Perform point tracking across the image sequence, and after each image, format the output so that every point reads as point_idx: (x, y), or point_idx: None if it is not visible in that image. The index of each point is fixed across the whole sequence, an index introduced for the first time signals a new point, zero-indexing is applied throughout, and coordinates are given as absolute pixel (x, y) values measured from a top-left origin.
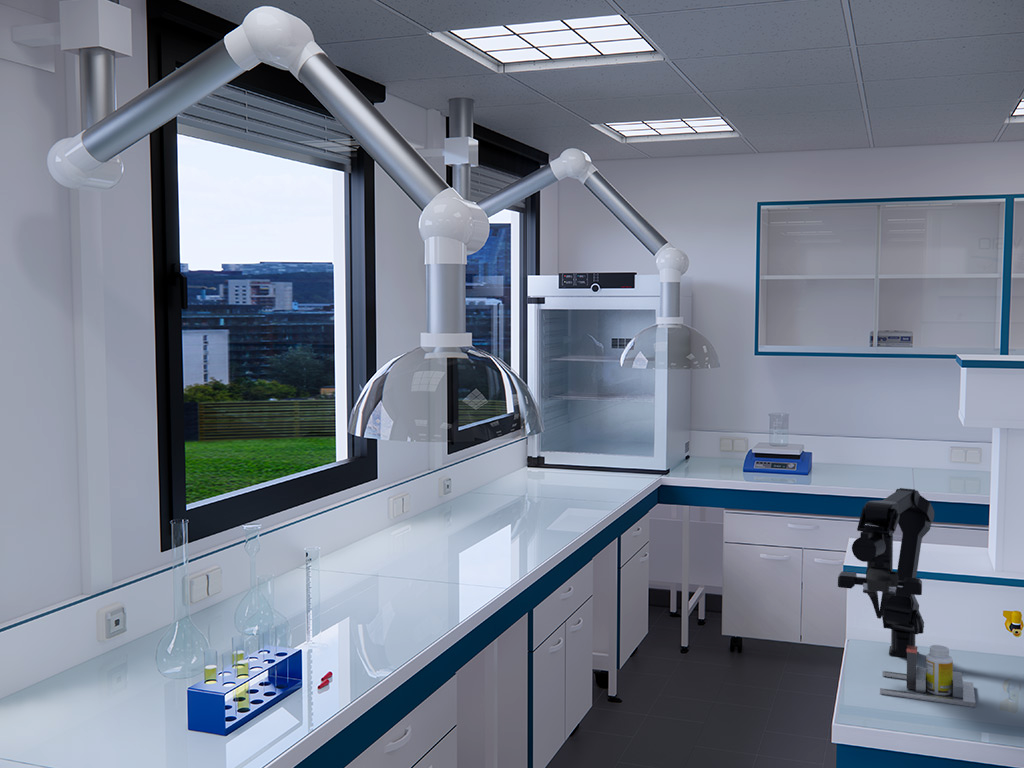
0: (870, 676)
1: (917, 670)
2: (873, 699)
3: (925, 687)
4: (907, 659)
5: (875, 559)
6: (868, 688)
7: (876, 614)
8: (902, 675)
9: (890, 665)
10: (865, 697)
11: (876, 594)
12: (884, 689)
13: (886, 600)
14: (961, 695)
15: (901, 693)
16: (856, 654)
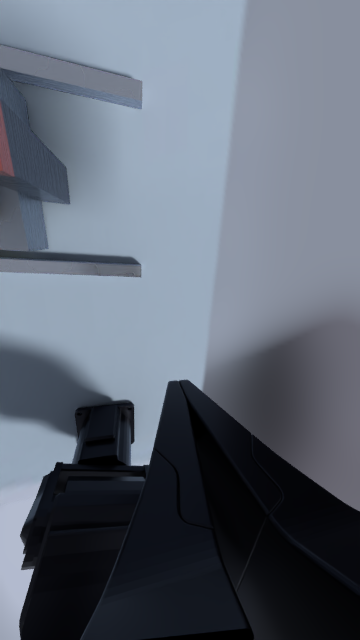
0: (169, 254)
1: (15, 203)
2: (159, 14)
3: None
4: (16, 116)
5: None
6: (174, 143)
7: (199, 390)
8: (88, 262)
9: (126, 348)
10: (184, 34)
11: (313, 614)
12: (127, 86)
13: (144, 534)
14: None
15: (68, 63)
16: (195, 381)
